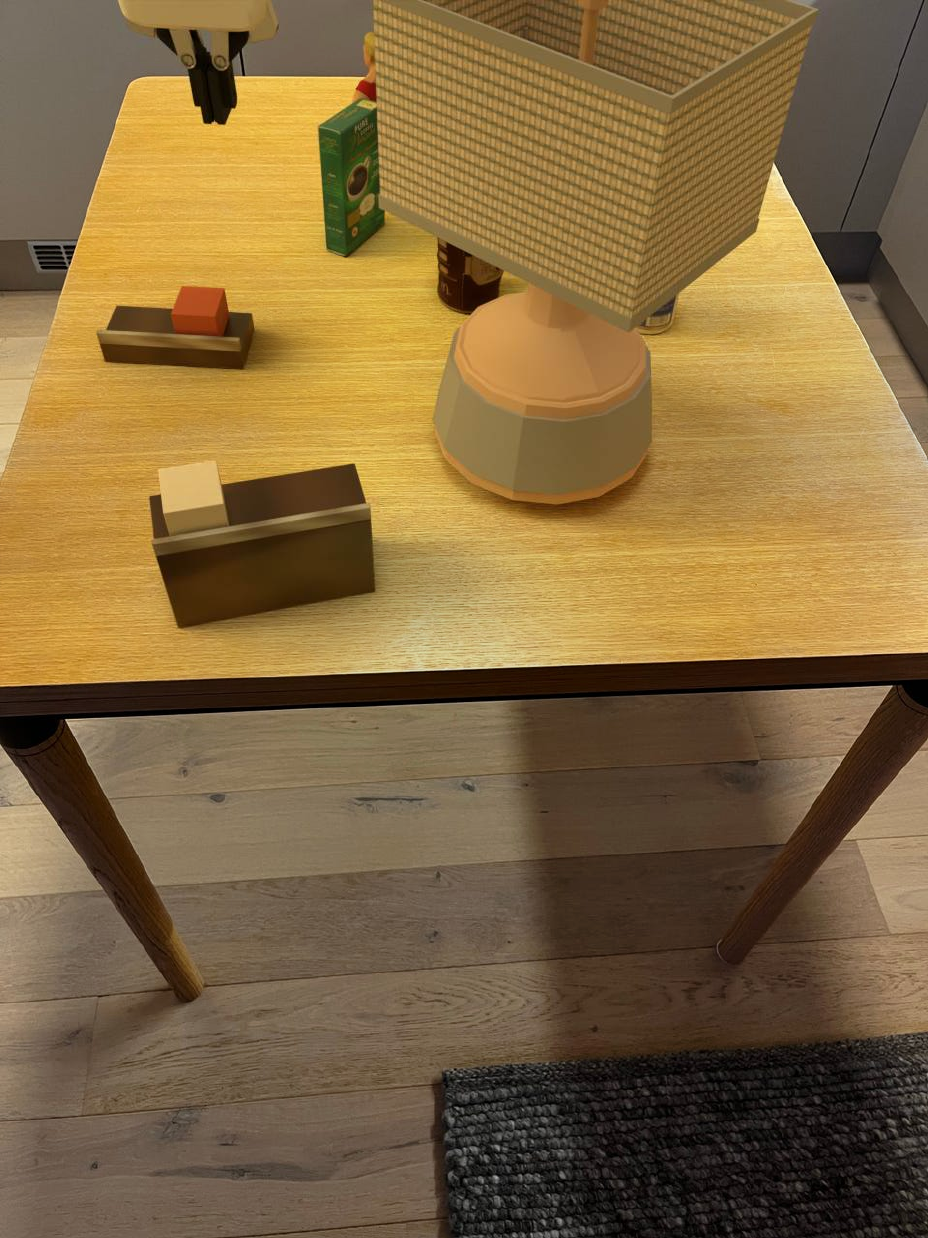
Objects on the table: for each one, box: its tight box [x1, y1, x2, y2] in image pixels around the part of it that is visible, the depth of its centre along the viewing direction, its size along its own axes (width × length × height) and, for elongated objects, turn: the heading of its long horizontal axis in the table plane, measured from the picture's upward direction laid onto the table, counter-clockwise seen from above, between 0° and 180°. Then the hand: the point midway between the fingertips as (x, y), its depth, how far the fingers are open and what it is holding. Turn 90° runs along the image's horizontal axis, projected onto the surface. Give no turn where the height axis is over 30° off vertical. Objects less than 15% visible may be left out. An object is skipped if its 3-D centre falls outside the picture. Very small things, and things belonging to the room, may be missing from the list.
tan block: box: [157, 459, 229, 536], centre depth 69 cm, size 4×4×3 cm
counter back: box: [95, 305, 256, 370], centre depth 94 cm, size 13×6×3 cm, turn 87°
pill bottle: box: [636, 293, 680, 335], centre depth 97 cm, size 5×5×9 cm
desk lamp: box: [372, 0, 819, 505], centre depth 74 cm, size 22×19×37 cm
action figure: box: [351, 31, 377, 104], centre depth 111 cm, size 10×4×15 cm, turn 140°
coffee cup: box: [436, 237, 505, 314], centre depth 97 cm, size 9×8×13 cm
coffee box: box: [317, 98, 386, 257], centre depth 103 cm, size 8×3×13 cm, turn 151°
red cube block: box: [171, 285, 230, 337], centre depth 93 cm, size 4×4×3 cm
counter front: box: [148, 462, 376, 628], centre depth 74 cm, size 15×6×9 cm, turn 105°
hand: (218, 115), depth 77 cm, fingers closed
